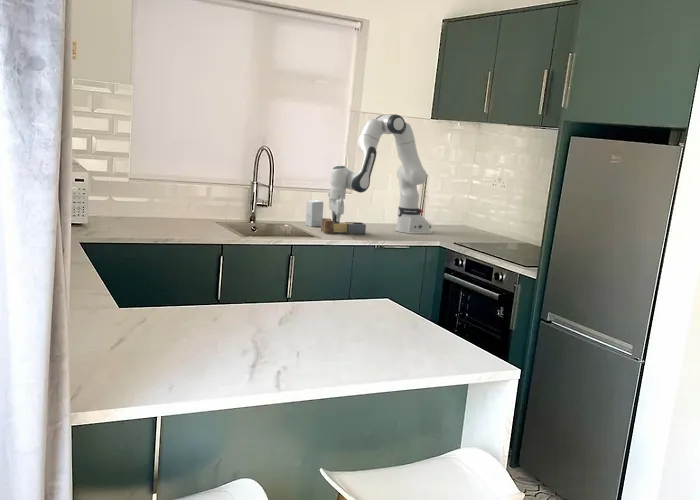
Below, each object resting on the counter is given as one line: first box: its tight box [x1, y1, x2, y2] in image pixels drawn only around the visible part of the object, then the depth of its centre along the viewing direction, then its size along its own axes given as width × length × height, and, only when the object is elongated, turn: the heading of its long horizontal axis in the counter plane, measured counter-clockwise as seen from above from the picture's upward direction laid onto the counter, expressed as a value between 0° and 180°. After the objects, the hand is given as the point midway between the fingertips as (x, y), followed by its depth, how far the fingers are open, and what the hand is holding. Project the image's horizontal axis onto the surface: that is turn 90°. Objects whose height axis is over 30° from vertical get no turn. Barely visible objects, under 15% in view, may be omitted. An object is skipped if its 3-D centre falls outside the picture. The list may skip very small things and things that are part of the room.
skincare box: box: [305, 199, 324, 227], centre depth 413 cm, size 8×6×15 cm
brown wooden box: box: [320, 217, 334, 234], centre depth 394 cm, size 5×9×7 cm, turn 15°
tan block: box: [331, 213, 353, 233], centre depth 395 cm, size 14×4×9 cm, turn 105°
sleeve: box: [344, 221, 367, 236], centre depth 398 cm, size 10×8×6 cm
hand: (335, 220), depth 394 cm, fingers open, 8 cm apart
